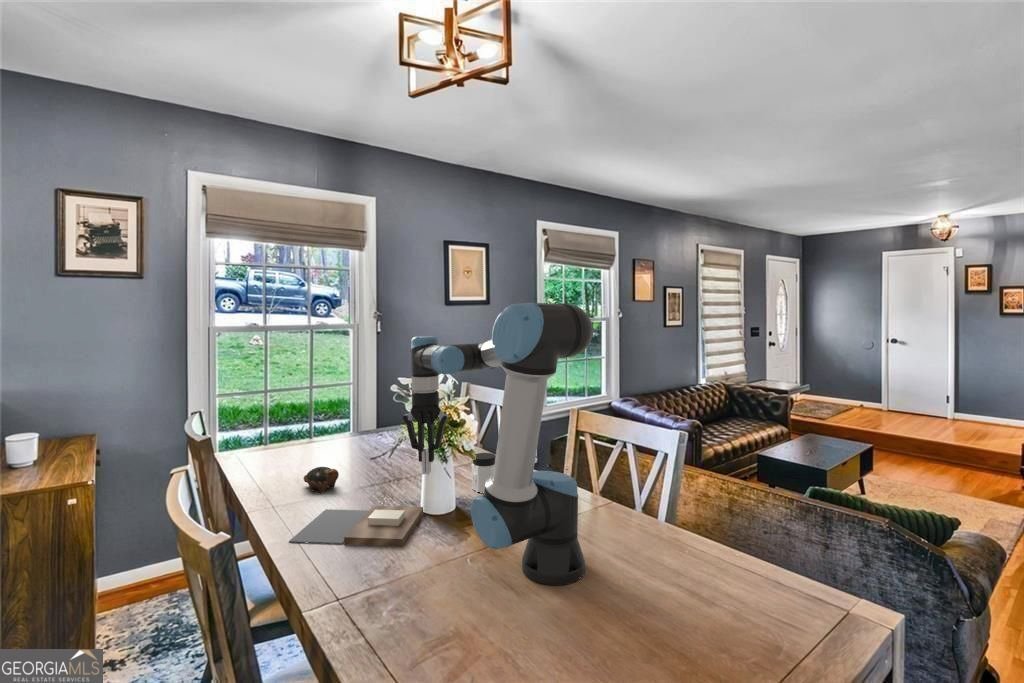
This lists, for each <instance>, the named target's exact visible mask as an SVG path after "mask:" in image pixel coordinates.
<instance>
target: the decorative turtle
mask: <svg viewBox="0 0 1024 683" xmlns="http://www.w3.org/2000/svg"><path fill="white" fill-rule="evenodd" d="M339 476H340V474H339V471H338V470H337V469H336V468H331V467H328V466H318V467H315V468H312V469H310V470H309V471H308V472H307V473H306V475H304V476H303V481H304V483H307V485H308V487H309V490H310V491H312V490H314V491H316V490H317V489H318V492H320V493H321V492H323V491H324V492H325V491H326V490H327V489H328V487H329V488H330V487H333V488H334V487H335V486H336V482H337V480H338V478H339ZM315 489H316V490H315ZM324 492H323V493H324Z"/></svg>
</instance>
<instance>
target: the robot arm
mask: <svg viewBox="0 0 1024 683" xmlns="http://www.w3.org/2000/svg"><path fill="white" fill-rule="evenodd" d="M593 327H594V326H593V323H592V320H591V318H590V316H589V315H588V314H587V312H586V311H584V310H583V309H582V308H581V307H579V306H577V305H574V304H571V303H564V302H563V303H548V302H546V303H543V302H529V301H527V302H523V303H513V304H510V305H508V306H506V307H505V308H504V309H503V310H502V311H501V312H500V313H499V314H498V315H497V317H496V319H495V321H494V324H493V327H492V333H491V339H488V340H485V341H483V342H478V343H477V342H475V343H460V344H459V343H458V344H439V340H438V338H437V336H433V335H432V336H431V335H429V336H428V335H427V336H426V335H421V336H414V337H412V339H411V340H410V341H411V342H410V362H411V366H410V367H411V368H410V369H411V390H412V392H411V408H410V412H408V413H406V414H404V415H403V416H402V420H403V422H405V426H406V429H407V432H408V437H409V441H410V446H411V448H412V449H413V450H414V449H415V450H416V451H418V462H419V463H421V472H422V475H430V473H431V472H432V463H433V462H434V460H435V450H438V449H439V448H440V447H441V445H442V439H443V435H444V430H445V426H446V422H447V420H448V419H449V414H448V413H446V414H445V413H444V412H442V411H441V410H442V409H441V407H440V402H439V401H440V399H439V398H440V396H439V395H440V394H439V391H438V390H439V385H440V384H439V380H440V379H439V374H442V375H445V376H446V375H454V374H457V373H460V372H470V371H471V372H472V371H482V370H483V371H485V370H490V371H491V370H494V369H499V368H500V367H501V368H502V369H503V371H504V372H505V373H506V374H505V375H506V376H505V384H504V388H503V389H504V390H503V398H502V406H501V413H500V422H499V429H498V436H497V443H496V451H495V455H496V458H495V466H494V473H493V475H492V476H490V477H489V478H488V479H487V480H486V482H485V489H484V493H482V494H483V495H477V496H476V497H475V498H474V499H473V500H472V502H471V506H470V516H471V522H472V524H473V527H474V529H475V532H476V534H477V536H478V538H479V539H480V541H481V542H482V543H483V544H484V545H485V546H486V547H487V548H489V549H492V550H500V549H504V548H509V547H511V546H513V545H515V544H519V543H521V542H523V541H527V543H526V545H525V549H524V552H523V555H522V557H521V558H522V559H521V570H522V573H523V575H525V577H527V578H528V579H529V578H530V579H529V580H531V581H533V582H535V583H538V584H541V583H542V585H547V586H563V584H565V585H568V584H567V583H570V584H572V583H571V582H573V581H575V582H577V581H579V580H580V579H581V578H582V577H583V576H584V575H583V574H585V573H586V560H585V558H584V553H583V551H582V548H581V545H580V542H579V539H578V528H579V527H578V526H579V525H578V524H579V523H578V521H579V519H578V517H579V512H578V511H579V494H578V482H577V480H576V479H575V478H574V477H572V476H571V475H568V474H566V473H562V472H559V471H552V470H536V471H534V469H535V463H536V456H537V450H538V444H539V437H540V432H541V431H540V430H541V424H542V416H543V411H544V404H545V397H546V391H547V385H548V380H549V379H550V378H551V377H553V376H554V375H555V374H556V373H557V368H558V363H559V362H558V361H559V359H565V358H566V359H568V358H572V357H575V356H578V355H580V354H582V353H583V352H584V351H585V350H587V349H588V347H589V346H590V344H591V342H592V340H593V335H594V329H593ZM413 419H414V420H415V421H416V422H417V433H416V430H415V425H414V421H413ZM436 419H438V421H439V423H438V427H437V433H436V438H435V429H434V428H435V422H436ZM425 426H426V428H427V447H428V448H425V447H426V446H425ZM584 572H585V573H584ZM582 575H583V576H582ZM580 577H581V578H580ZM579 578H580V579H579ZM578 579H579V580H578ZM576 580H577V581H576ZM573 583H574V582H573ZM561 584H562V585H561Z"/></svg>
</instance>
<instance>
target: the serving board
mask: <svg viewBox="0 0 1024 683" xmlns="http://www.w3.org/2000/svg"><path fill="white" fill-rule="evenodd" d="M423 507H424V506H407V505H406V506H402V505H401V506H400V505H372V506H371V508H370V509H369V511H368V512H367V513H366V514H365V515H364V516H363V517H362V518H361V519H360V521H359V522H358V523H357V524H356V525H355V526H354V527H353V528H352V529H351V530H350V531H349V532H348V533H347V534H346V536H345V537H344V543H343V545H347V544H353V545H354V546H377V547H378V546H381V547H384V546H385V547H403V546H404V545H405V543H406V541H407V540H408V538H409V536H411V534H412V532H413V531H414V529H415V528H416V526H417V524H418V523H419V521H420V520H421V518H422V517H423V515H424V514H423ZM374 510H405V518H404V519H403V521H402V522H401V523H400V525H399V526H389V525H368V517H369V516H370V515H371V514H372V513H373V511H374Z"/></svg>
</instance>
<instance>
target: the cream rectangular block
mask: <svg viewBox="0 0 1024 683" xmlns="http://www.w3.org/2000/svg"><path fill="white" fill-rule="evenodd" d="M404 518H405V510H374V511H373V513H372V514H371V515H370V516H369V517H368V525H389V526H399V525H400V523H401V522H402V521H403V519H404Z"/></svg>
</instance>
